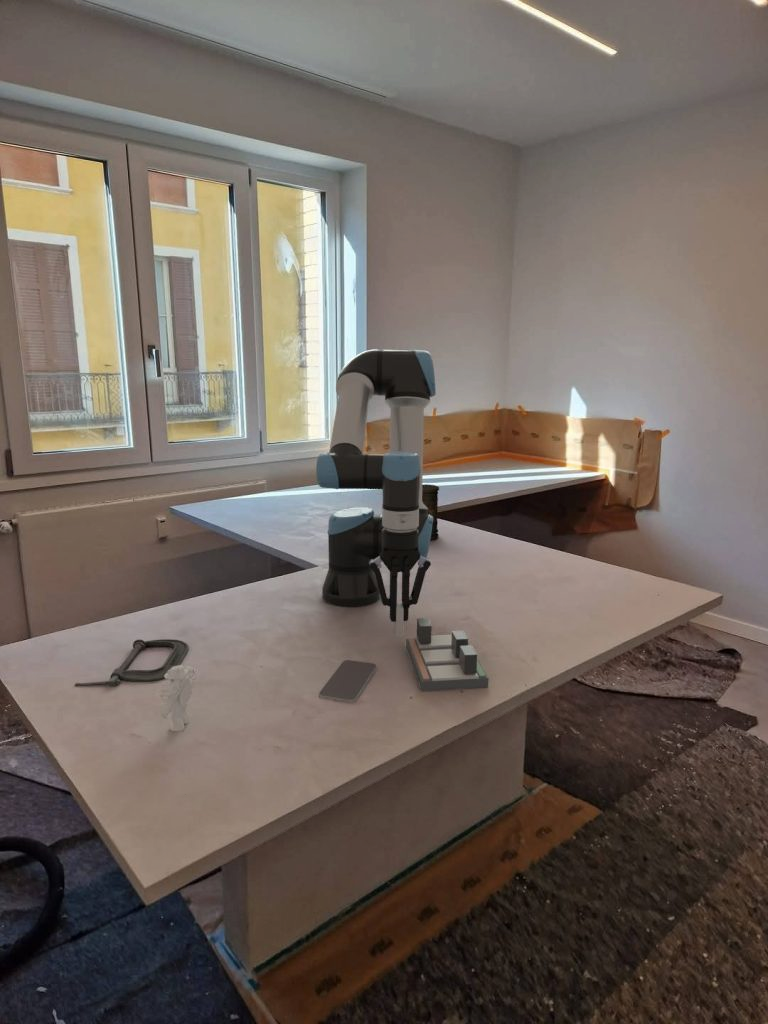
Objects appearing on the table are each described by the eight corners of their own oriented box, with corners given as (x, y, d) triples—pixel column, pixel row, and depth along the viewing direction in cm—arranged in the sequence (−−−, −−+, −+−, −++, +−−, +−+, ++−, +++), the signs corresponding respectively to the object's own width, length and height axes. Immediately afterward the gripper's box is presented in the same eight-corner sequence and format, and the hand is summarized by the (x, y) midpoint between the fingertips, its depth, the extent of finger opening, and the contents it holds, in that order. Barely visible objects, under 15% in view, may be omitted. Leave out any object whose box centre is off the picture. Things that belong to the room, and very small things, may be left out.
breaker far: (419, 643, 138) (420, 626, 137) (416, 635, 142) (416, 618, 141) (431, 643, 138) (431, 625, 137) (427, 635, 142) (427, 618, 141)
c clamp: (162, 693, 124) (160, 679, 123) (74, 689, 125) (72, 676, 125) (198, 646, 144) (198, 634, 143) (122, 643, 145) (121, 632, 144)
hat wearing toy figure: (178, 740, 108) (172, 674, 105) (156, 737, 109) (150, 672, 106) (203, 712, 117) (199, 650, 114) (183, 709, 117) (178, 648, 114)
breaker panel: (421, 691, 124) (422, 679, 124) (405, 647, 143) (406, 636, 142) (488, 687, 126) (488, 675, 125) (463, 644, 144) (464, 633, 144)
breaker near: (464, 674, 125) (464, 655, 124) (459, 664, 129) (459, 645, 128) (476, 673, 126) (477, 654, 125) (471, 663, 129) (471, 645, 128)
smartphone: (316, 695, 122) (344, 659, 136) (316, 699, 122) (344, 663, 136) (354, 701, 120) (378, 663, 134) (354, 705, 120) (378, 667, 134)
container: (408, 539, 224) (409, 487, 220) (417, 532, 232) (418, 483, 228) (433, 542, 221) (435, 490, 217) (441, 535, 229) (443, 485, 225)
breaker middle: (455, 657, 132) (456, 639, 131) (451, 648, 136) (451, 631, 135) (467, 656, 132) (468, 638, 131) (462, 648, 136) (463, 630, 135)
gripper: (370, 533, 129) (370, 643, 135) (435, 532, 130) (432, 641, 136) (366, 523, 136) (366, 628, 142) (428, 522, 138) (425, 626, 143)
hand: (398, 634), depth 139 cm, fingers closed
